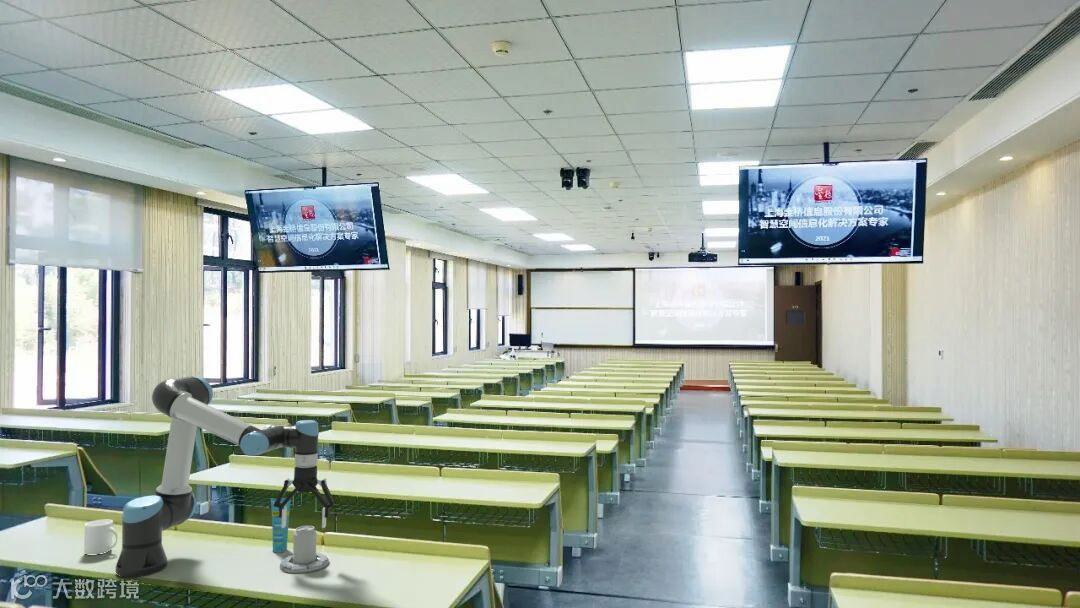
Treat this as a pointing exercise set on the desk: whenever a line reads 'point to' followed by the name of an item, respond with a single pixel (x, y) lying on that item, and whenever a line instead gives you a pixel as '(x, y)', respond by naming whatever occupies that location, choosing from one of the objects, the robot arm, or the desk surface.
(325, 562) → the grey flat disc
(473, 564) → the desk surface
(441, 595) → the desk surface
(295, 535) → the can
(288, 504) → the tube
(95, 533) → the mug
